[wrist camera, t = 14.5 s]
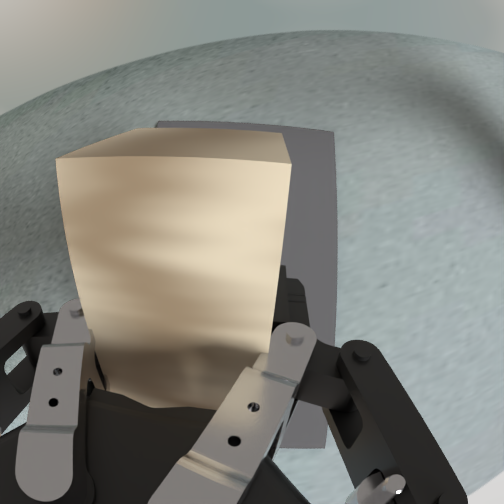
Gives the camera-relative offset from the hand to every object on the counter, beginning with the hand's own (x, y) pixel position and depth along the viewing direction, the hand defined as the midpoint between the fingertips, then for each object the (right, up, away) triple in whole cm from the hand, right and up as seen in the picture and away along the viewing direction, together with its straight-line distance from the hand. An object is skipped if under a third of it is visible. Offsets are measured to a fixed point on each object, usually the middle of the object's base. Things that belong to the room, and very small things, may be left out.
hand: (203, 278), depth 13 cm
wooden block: (-1, -8, +1) cm, 8 cm away
